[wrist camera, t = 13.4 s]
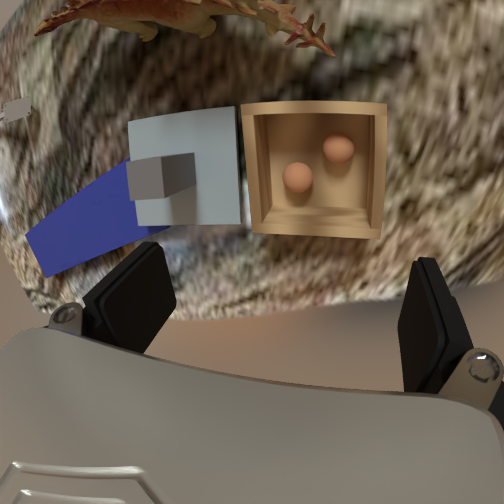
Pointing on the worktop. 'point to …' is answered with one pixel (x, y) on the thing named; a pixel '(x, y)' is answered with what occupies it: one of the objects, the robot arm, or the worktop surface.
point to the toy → (186, 17)
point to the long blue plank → (89, 224)
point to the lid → (185, 168)
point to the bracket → (16, 109)
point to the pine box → (316, 167)
